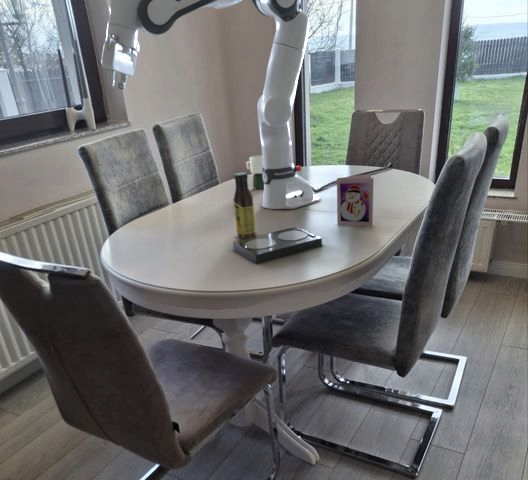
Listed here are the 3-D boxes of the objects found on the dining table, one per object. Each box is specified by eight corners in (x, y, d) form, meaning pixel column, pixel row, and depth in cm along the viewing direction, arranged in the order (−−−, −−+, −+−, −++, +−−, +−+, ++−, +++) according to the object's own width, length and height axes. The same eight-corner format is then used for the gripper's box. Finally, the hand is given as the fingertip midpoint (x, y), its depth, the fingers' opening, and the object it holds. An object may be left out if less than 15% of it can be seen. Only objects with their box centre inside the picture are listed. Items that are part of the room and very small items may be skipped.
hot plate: (295, 234, 162) (295, 225, 160) (321, 246, 150) (321, 236, 149) (233, 250, 154) (232, 241, 152) (256, 263, 142) (255, 254, 140)
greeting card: (336, 226, 166) (336, 178, 158) (342, 219, 171) (342, 173, 164) (371, 227, 162) (372, 178, 154) (376, 220, 167) (377, 173, 160)
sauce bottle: (236, 234, 167) (229, 172, 157) (255, 232, 167) (249, 170, 157) (237, 240, 161) (230, 176, 151) (257, 238, 161) (251, 174, 151)
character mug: (274, 185, 225) (272, 154, 218) (269, 189, 219) (267, 158, 213) (251, 186, 228) (248, 155, 222) (245, 189, 222) (242, 158, 216)
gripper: (120, 35, 146) (114, 87, 151) (141, 47, 165) (135, 93, 170) (98, 29, 146) (93, 82, 151) (122, 42, 164) (117, 88, 170)
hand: (116, 88), depth 161 cm, fingers open, 8 cm apart
